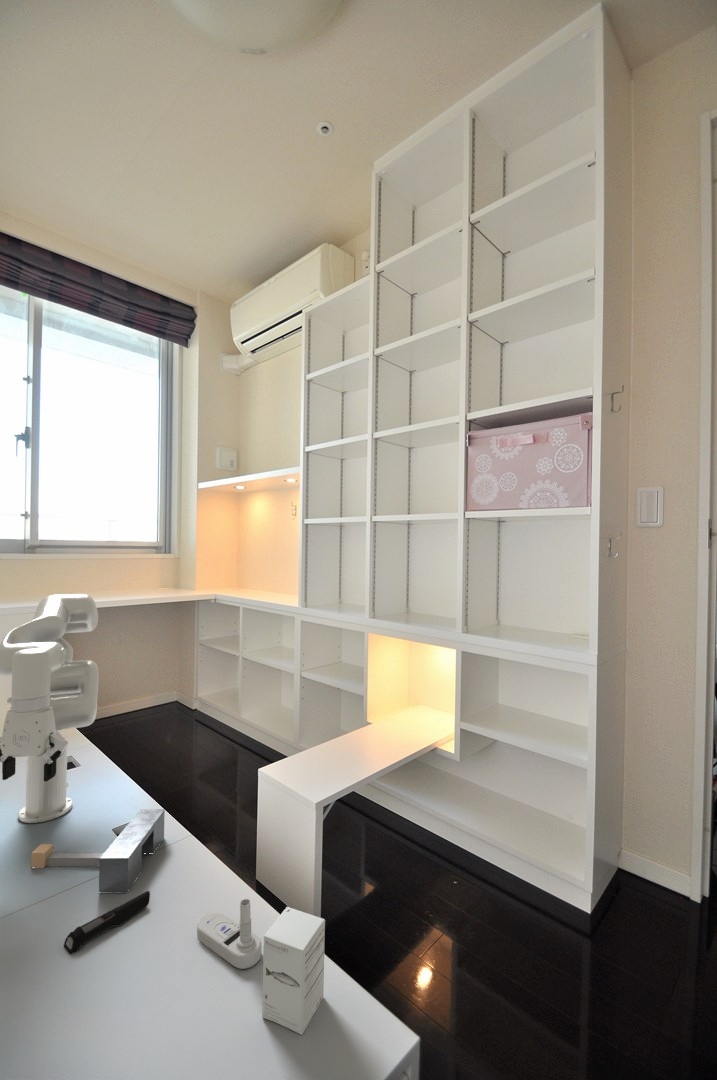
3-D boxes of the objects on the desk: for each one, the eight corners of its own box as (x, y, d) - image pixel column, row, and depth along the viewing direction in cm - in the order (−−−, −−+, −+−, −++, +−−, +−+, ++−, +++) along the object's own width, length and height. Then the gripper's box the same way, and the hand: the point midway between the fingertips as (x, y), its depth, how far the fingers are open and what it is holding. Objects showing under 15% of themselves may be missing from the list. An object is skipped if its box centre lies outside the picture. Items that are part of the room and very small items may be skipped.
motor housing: (98, 893, 104) (99, 858, 104) (140, 838, 124) (140, 809, 124) (127, 893, 104) (128, 858, 104) (164, 838, 124) (164, 809, 124)
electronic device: (214, 869, 97) (266, 899, 88) (215, 921, 97) (267, 956, 88) (190, 884, 93) (243, 917, 84) (191, 938, 93) (244, 977, 84)
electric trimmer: (153, 910, 100) (154, 894, 100) (71, 958, 87) (71, 939, 88) (144, 902, 102) (144, 886, 102) (62, 947, 90) (63, 929, 90)
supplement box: (260, 1019, 76) (261, 934, 76) (286, 981, 83) (287, 904, 83) (302, 1038, 73) (303, 950, 73) (325, 997, 80) (326, 917, 80)
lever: (29, 869, 111) (30, 849, 112) (41, 857, 116) (42, 838, 116) (129, 869, 112) (129, 849, 112) (137, 857, 116) (138, 838, 116)
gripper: (-19, 707, 110) (-21, 784, 110) (56, 709, 110) (54, 787, 109) (7, 697, 118) (5, 769, 118) (77, 699, 117) (75, 772, 117)
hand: (29, 778), depth 113 cm, fingers open, 9 cm apart
